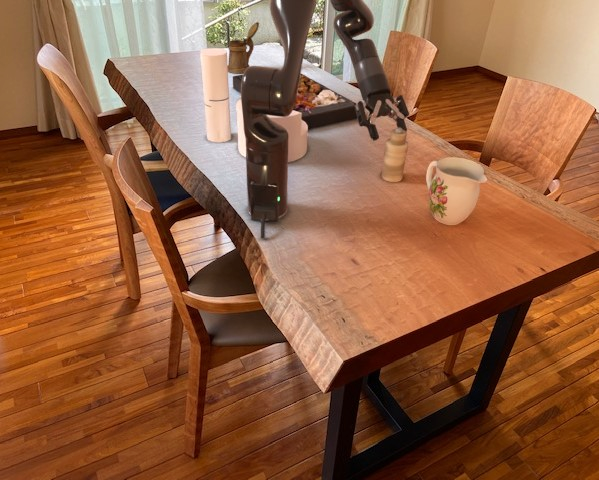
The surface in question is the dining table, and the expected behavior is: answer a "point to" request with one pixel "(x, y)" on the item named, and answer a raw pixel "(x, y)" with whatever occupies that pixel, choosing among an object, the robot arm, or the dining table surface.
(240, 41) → the wooden mug
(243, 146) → the container
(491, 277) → the dining table surface
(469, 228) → the dining table surface
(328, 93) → the food platter
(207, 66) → the cylindrical container
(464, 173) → the pitcher
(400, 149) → the pepper mill
